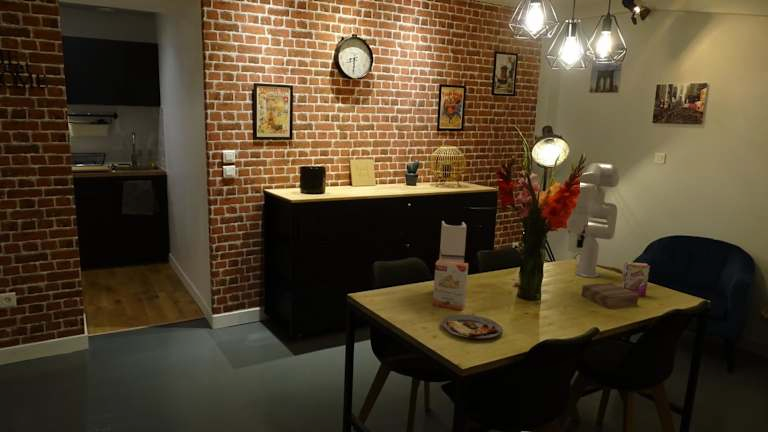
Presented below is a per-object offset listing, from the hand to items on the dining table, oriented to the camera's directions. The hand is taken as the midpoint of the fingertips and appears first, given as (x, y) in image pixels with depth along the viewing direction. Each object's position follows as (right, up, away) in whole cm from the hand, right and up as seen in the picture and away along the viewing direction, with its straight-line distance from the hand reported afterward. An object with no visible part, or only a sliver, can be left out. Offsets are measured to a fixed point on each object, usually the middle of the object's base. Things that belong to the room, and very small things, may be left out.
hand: (575, 245), depth 265 cm
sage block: (0, -3, +1) cm, 3 cm away
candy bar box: (+33, -26, +10) cm, 43 cm away
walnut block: (+16, -27, -2) cm, 31 cm away
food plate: (-60, -32, -47) cm, 82 cm away
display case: (-63, -24, -4) cm, 68 cm away
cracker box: (-66, -27, -21) cm, 74 cm away
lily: (-24, -22, +16) cm, 36 cm away
